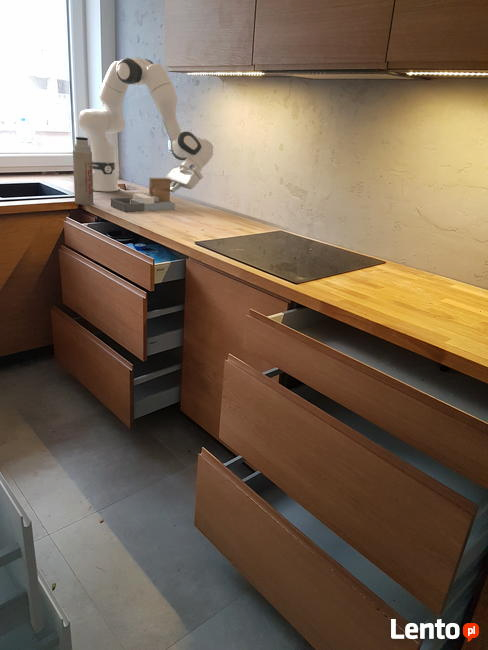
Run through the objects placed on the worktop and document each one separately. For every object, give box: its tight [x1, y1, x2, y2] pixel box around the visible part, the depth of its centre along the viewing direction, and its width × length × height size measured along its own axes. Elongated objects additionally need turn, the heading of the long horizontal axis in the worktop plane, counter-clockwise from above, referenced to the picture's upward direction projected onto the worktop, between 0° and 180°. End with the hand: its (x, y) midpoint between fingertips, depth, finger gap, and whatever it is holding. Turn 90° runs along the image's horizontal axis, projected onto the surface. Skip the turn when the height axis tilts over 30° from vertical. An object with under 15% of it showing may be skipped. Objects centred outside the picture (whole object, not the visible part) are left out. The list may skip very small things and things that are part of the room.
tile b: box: [139, 196, 154, 204], centre depth 221 cm, size 5×5×2 cm
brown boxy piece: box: [143, 177, 171, 204], centre depth 227 cm, size 12×9×10 cm
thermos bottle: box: [72, 136, 94, 206], centre depth 217 cm, size 8×8×28 cm
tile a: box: [132, 193, 148, 201], centre depth 225 cm, size 5×5×2 cm
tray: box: [110, 197, 145, 213], centre depth 219 cm, size 13×10×4 cm
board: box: [130, 198, 176, 212], centre depth 228 cm, size 12×16×3 cm
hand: (171, 191), depth 231 cm, fingers closed
